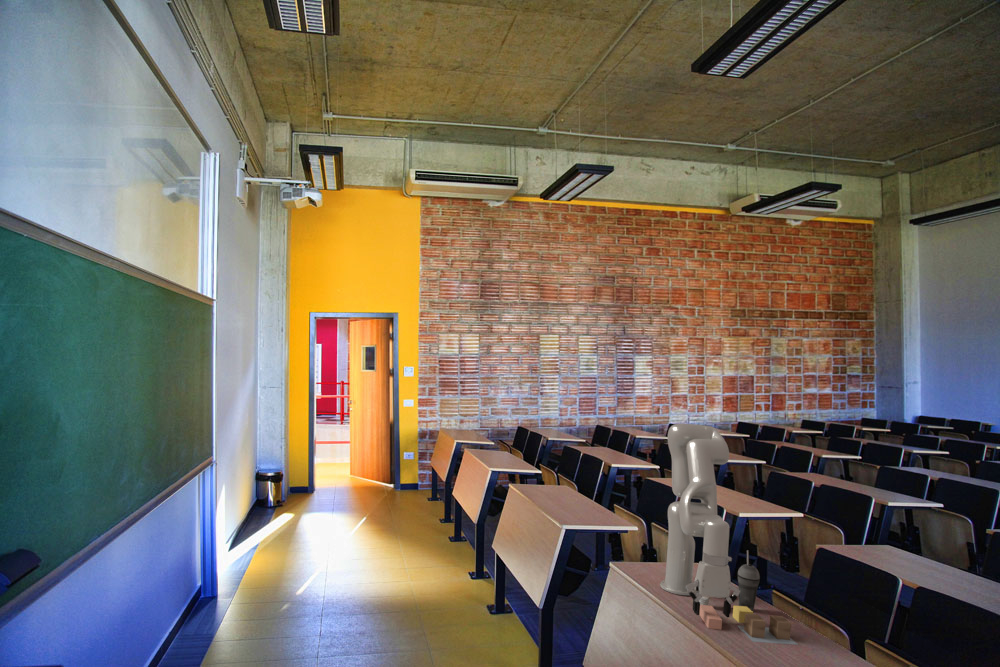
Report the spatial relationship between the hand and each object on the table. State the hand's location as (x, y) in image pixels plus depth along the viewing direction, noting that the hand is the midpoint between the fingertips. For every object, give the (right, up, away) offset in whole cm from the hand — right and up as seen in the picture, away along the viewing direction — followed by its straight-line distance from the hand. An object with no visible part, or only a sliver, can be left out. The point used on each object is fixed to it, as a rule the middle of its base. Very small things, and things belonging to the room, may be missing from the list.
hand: (711, 614), depth 192 cm
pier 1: (+11, -3, -6) cm, 13 cm away
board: (+15, -4, -6) cm, 17 cm away
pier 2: (+19, -4, -5) cm, 20 cm away
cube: (+11, -5, +4) cm, 13 cm away
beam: (0, -4, +1) cm, 4 cm away
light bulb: (+2, -4, +14) cm, 14 cm away
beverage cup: (+17, -6, +14) cm, 23 cm away
